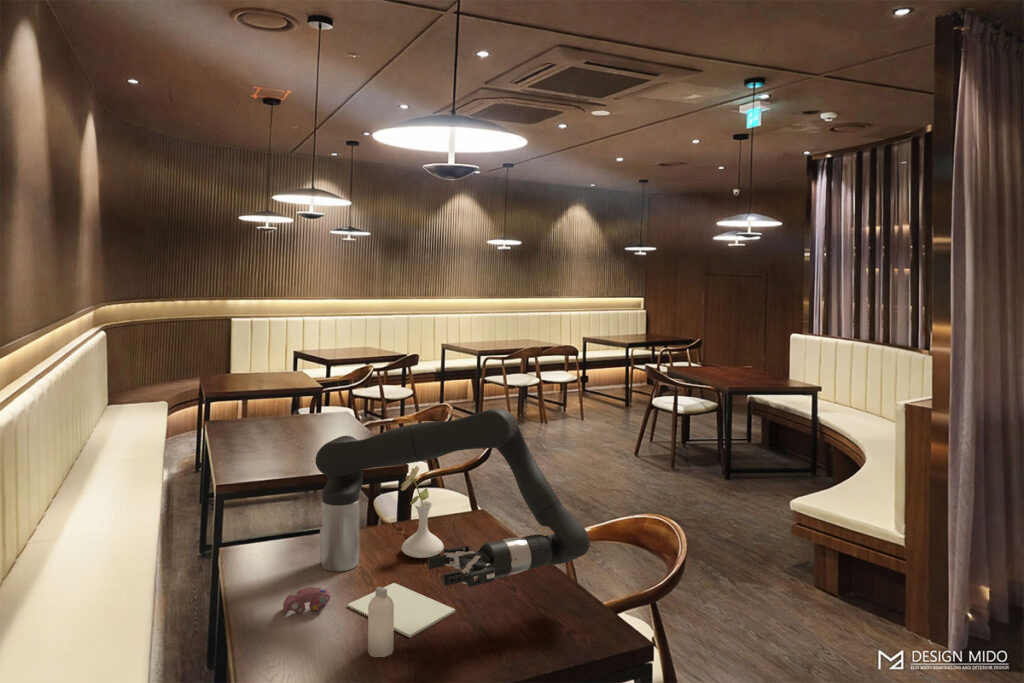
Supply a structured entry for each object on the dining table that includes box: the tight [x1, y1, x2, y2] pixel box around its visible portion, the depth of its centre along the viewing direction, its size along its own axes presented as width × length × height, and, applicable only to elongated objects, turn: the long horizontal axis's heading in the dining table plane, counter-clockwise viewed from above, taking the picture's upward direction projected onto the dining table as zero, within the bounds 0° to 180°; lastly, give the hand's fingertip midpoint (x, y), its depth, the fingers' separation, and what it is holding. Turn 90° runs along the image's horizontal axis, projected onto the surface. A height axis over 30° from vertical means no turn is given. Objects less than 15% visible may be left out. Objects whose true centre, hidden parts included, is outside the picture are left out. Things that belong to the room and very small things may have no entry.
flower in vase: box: [400, 465, 445, 559], centre depth 176 cm, size 13×11×25 cm
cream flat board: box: [347, 582, 456, 639], centre depth 147 cm, size 20×14×1 cm
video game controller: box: [282, 585, 331, 615], centre depth 145 cm, size 10×5×7 cm, turn 118°
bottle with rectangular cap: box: [367, 585, 395, 658], centre depth 130 cm, size 5×5×13 cm
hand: (435, 571), depth 135 cm, fingers open, 8 cm apart
